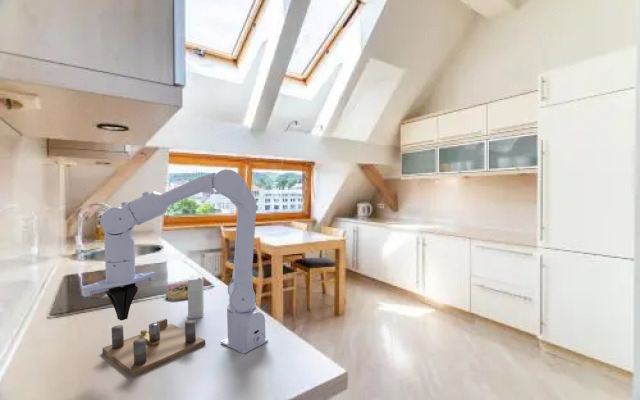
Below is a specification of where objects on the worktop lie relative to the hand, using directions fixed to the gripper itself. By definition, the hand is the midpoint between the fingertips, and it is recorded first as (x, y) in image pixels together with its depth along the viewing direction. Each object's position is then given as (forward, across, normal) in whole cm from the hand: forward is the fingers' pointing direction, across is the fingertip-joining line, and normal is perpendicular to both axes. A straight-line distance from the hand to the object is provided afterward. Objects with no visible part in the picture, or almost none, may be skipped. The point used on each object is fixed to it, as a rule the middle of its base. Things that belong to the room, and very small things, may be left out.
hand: (122, 318), depth 72 cm
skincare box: (+10, -25, -11) cm, 29 cm away
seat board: (+10, -7, 0) cm, 12 cm away
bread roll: (+10, -32, -32) cm, 46 cm away
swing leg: (+9, -7, -3) cm, 11 cm away
